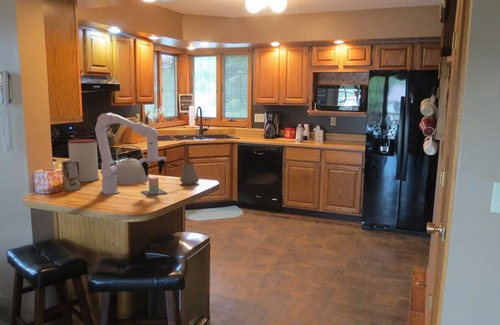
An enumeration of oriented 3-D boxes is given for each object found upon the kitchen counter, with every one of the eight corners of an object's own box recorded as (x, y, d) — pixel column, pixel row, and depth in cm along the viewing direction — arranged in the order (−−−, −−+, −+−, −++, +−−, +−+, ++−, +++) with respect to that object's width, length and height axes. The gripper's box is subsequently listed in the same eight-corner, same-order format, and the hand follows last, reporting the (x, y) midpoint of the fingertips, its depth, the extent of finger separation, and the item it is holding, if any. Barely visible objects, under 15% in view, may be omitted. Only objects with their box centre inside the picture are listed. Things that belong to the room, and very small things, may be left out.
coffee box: (80, 189, 242) (79, 161, 239) (69, 191, 238) (67, 163, 235) (73, 186, 248) (71, 159, 246) (62, 188, 244) (60, 161, 241)
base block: (149, 191, 235) (148, 184, 234) (156, 190, 237) (155, 183, 236) (151, 193, 231) (151, 185, 231) (158, 192, 234) (158, 185, 233)
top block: (149, 184, 234) (148, 177, 233) (155, 183, 236) (155, 176, 235) (151, 186, 231) (151, 178, 230) (158, 185, 233) (158, 178, 232)
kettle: (157, 177, 276) (156, 143, 272) (144, 185, 254) (142, 148, 250) (121, 176, 279) (119, 142, 275) (105, 183, 257) (103, 147, 253)
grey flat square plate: (141, 192, 236) (141, 191, 236) (159, 189, 242) (159, 188, 242) (148, 196, 227) (148, 195, 227) (167, 193, 233) (167, 192, 233)
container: (67, 179, 269) (64, 140, 265) (95, 176, 278) (93, 138, 274) (73, 184, 255) (70, 143, 251) (102, 180, 264) (100, 141, 260)
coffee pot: (192, 180, 266) (191, 157, 263) (202, 183, 257) (202, 159, 255) (162, 185, 252) (161, 161, 249) (172, 189, 243) (171, 163, 241)
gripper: (142, 152, 223) (143, 177, 225) (168, 150, 231) (168, 174, 233) (137, 150, 229) (138, 175, 231) (163, 148, 237) (163, 172, 239)
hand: (153, 174), depth 232 cm, fingers open, 7 cm apart
